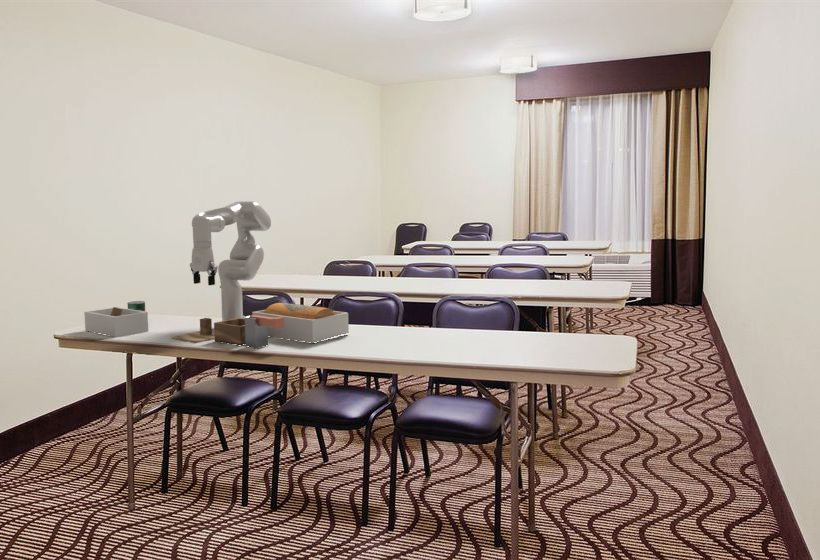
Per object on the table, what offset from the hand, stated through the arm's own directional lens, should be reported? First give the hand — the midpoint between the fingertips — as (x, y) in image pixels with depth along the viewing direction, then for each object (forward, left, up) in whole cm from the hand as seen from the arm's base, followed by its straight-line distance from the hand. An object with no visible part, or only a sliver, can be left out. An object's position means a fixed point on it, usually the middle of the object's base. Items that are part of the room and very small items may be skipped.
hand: (204, 284), depth 294 cm
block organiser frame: (+16, -42, -23) cm, 50 cm away
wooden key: (+2, +40, -14) cm, 42 cm away
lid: (+5, 0, -24) cm, 24 cm away
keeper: (+2, +34, -23) cm, 41 cm away
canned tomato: (+1, -49, -23) cm, 54 cm away
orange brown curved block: (-24, +34, -23) cm, 48 cm away
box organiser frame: (-26, +32, -23) cm, 47 cm away
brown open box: (-2, +20, -23) cm, 31 cm away
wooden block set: (+14, -43, -23) cm, 51 cm away
